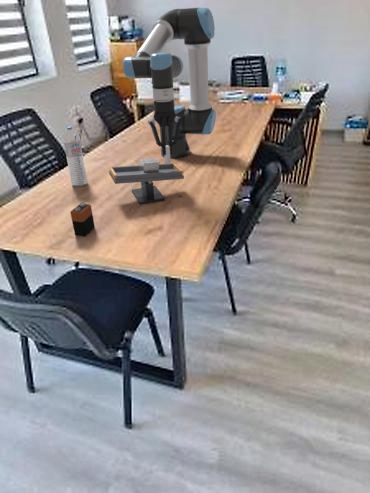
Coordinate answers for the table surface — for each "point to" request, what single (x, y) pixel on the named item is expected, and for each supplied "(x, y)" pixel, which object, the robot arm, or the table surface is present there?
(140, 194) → the stand
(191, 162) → the table surface
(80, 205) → the battery
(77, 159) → the water bottle
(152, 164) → the rider
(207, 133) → the robot arm
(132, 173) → the beam
